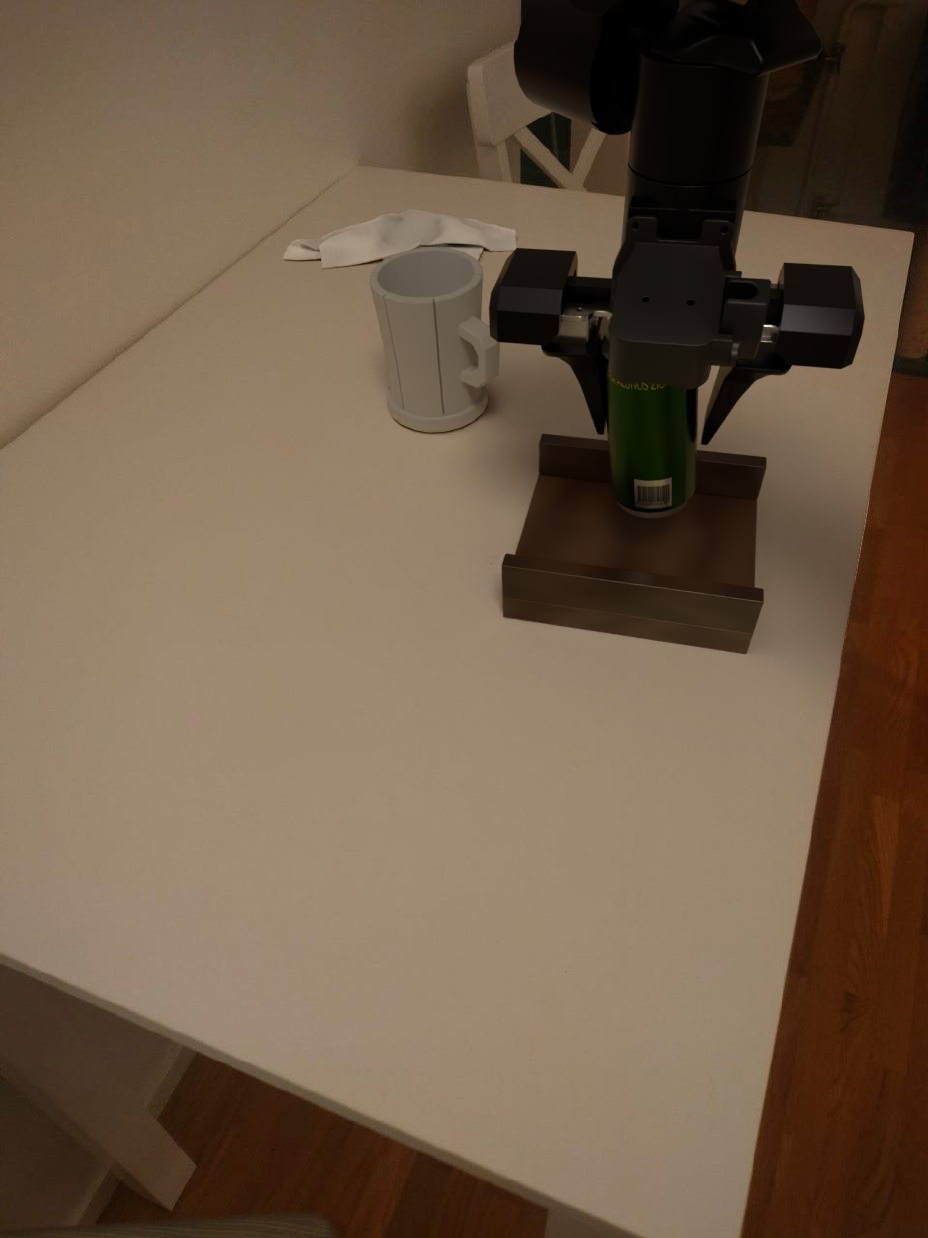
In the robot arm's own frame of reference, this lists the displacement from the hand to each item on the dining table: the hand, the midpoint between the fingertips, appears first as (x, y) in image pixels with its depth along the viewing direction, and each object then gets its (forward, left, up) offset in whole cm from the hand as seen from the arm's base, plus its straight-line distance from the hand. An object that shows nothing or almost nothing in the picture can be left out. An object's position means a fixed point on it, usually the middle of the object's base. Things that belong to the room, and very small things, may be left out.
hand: (652, 435), depth 50 cm
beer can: (-1, 0, -5) cm, 5 cm away
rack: (0, 0, -11) cm, 11 cm away
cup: (+18, -16, -11) cm, 27 cm away
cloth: (+31, -46, -11) cm, 57 cm away
